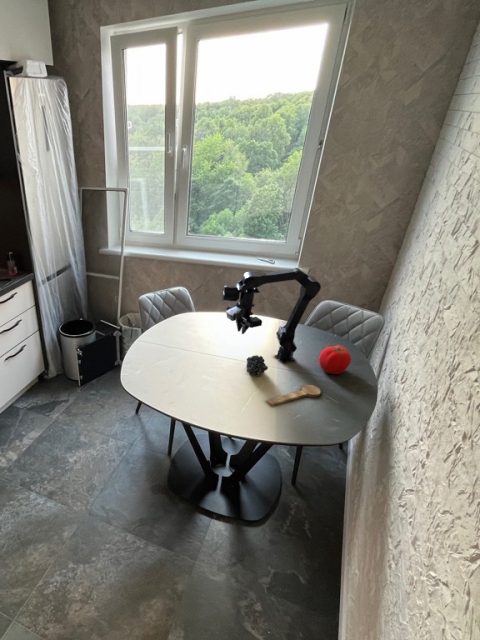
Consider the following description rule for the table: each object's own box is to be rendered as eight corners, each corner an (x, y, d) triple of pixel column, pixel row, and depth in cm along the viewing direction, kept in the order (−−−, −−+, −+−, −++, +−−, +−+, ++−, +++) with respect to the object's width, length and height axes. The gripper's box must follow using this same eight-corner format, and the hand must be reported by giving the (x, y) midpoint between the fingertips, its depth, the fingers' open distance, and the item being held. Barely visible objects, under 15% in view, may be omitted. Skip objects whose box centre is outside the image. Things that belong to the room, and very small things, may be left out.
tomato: (311, 371, 179) (318, 349, 172) (322, 359, 187) (328, 337, 180) (341, 381, 172) (349, 358, 165) (350, 368, 179) (358, 345, 173)
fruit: (250, 344, 183) (254, 360, 171) (267, 350, 183) (272, 367, 171) (241, 359, 188) (244, 376, 176) (257, 365, 188) (262, 382, 176)
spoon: (310, 385, 170) (311, 383, 169) (323, 394, 164) (324, 392, 164) (264, 399, 164) (264, 396, 163) (275, 408, 158) (276, 406, 158)
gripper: (218, 296, 182) (214, 327, 190) (243, 312, 167) (238, 345, 176) (239, 292, 184) (234, 323, 193) (265, 308, 170) (259, 340, 178)
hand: (240, 332), depth 185 cm, fingers open, 3 cm apart
